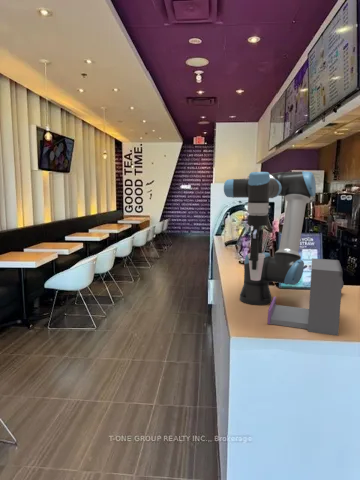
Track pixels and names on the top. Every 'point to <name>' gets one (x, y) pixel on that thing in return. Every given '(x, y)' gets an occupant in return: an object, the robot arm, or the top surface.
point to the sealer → (325, 296)
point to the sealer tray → (288, 315)
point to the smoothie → (261, 260)
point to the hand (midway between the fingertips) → (255, 275)
